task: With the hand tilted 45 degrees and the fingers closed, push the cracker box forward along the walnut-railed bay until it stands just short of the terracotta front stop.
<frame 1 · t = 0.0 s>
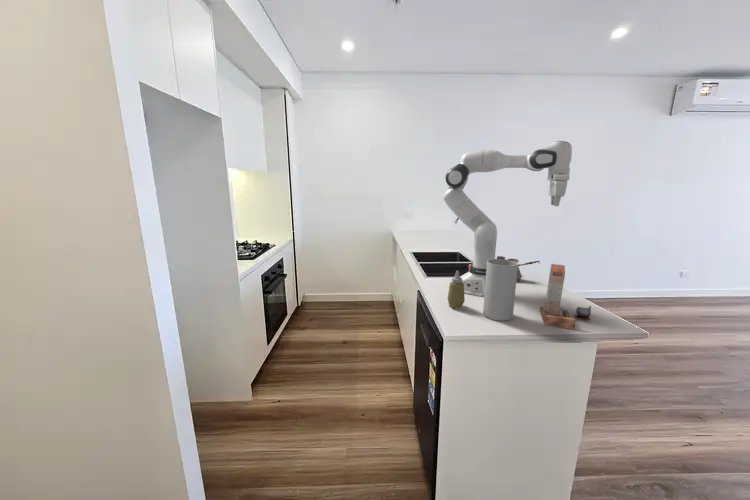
hand: (554, 205, 149), 48 cm above the counter, tool pointing down, fingers open, 8 cm apart
coffee pot: (519, 281, 186), on the counter
supplement bottle: (499, 274, 201), on the counter
squeeze bottle: (455, 306, 148), on the counter
winch drum: (582, 318, 134), on the counter
cracker box: (552, 310, 143), on the counter
cylinder vase: (497, 316, 137), on the counter
bay: (555, 319, 133), on the counter
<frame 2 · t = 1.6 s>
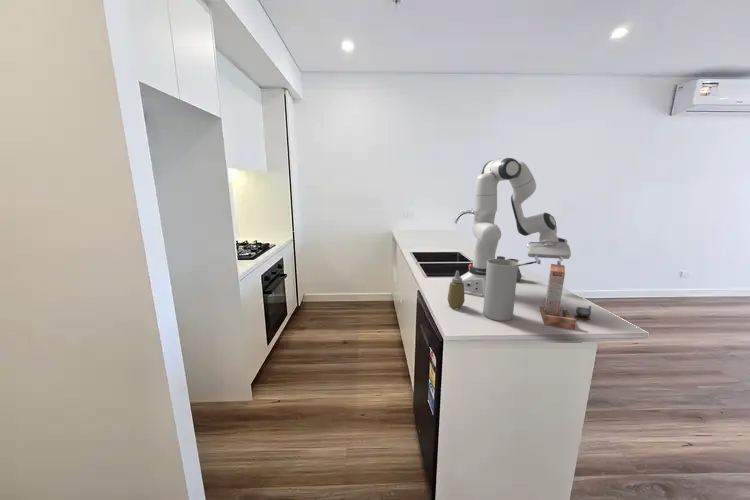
hand: (548, 263, 162), 17 cm above the counter, tool tilted 45°, fingers open, 8 cm apart
nothing on the counter moved.
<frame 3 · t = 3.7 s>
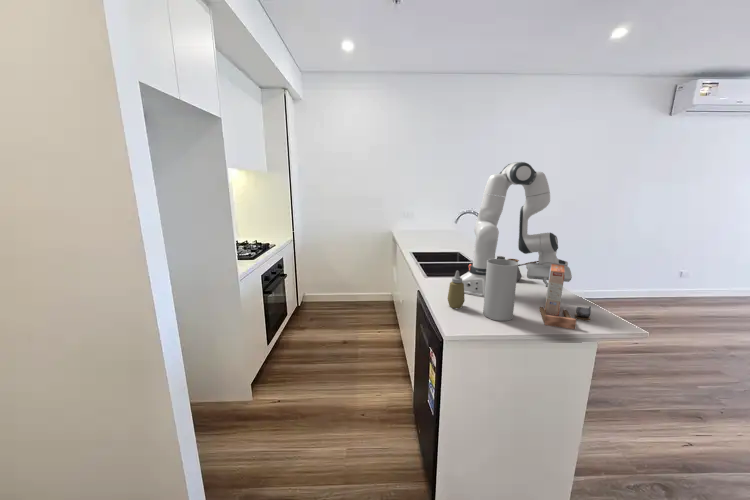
hand: (549, 286, 155), 7 cm above the counter, tool tilted 45°, fingers closed
nothing on the counter moved.
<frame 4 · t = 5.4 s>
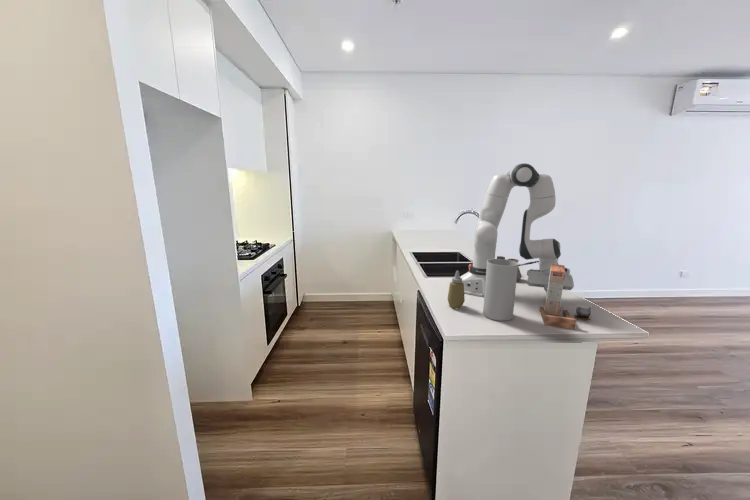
hand: (550, 295, 149), 5 cm above the counter, tool tilted 45°, fingers closed
cracker box: (552, 310, 143), on the counter, touching gripper
everything else where it was.
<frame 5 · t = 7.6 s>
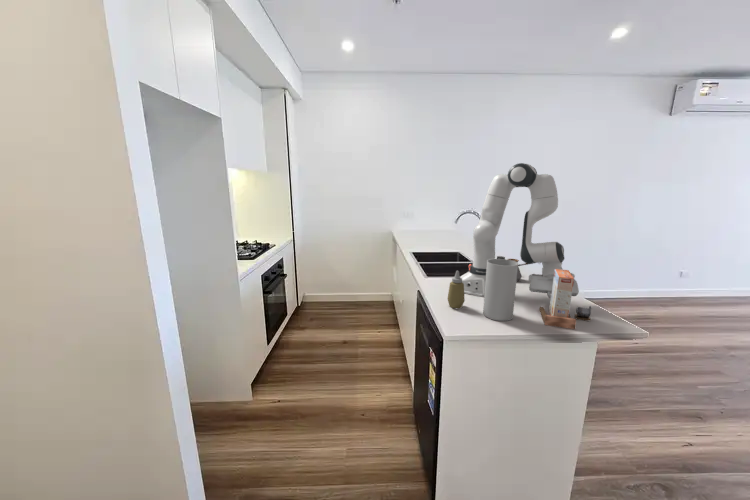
hand: (553, 301, 141), 5 cm above the counter, tool tilted 45°, fingers closed
cracker box: (557, 318, 135), resting in bay, touching gripper
everything else where it was.
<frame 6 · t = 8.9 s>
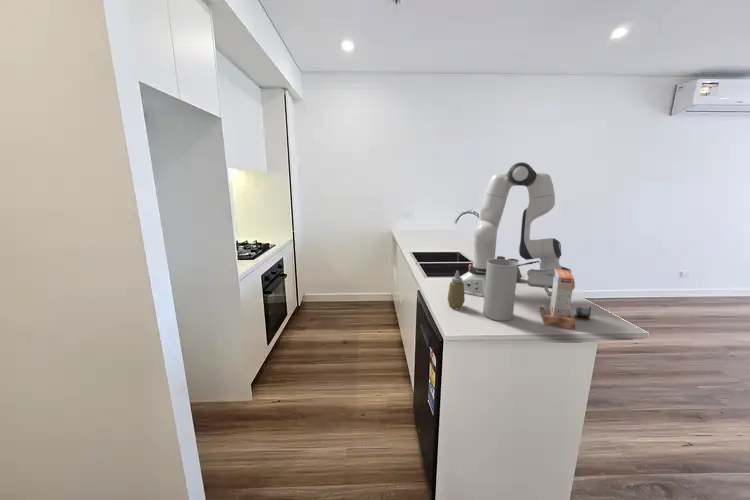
hand: (550, 295, 146), 6 cm above the counter, tool tilted 45°, fingers closed
cracker box: (557, 318, 135), resting in bay
everything else where it was.
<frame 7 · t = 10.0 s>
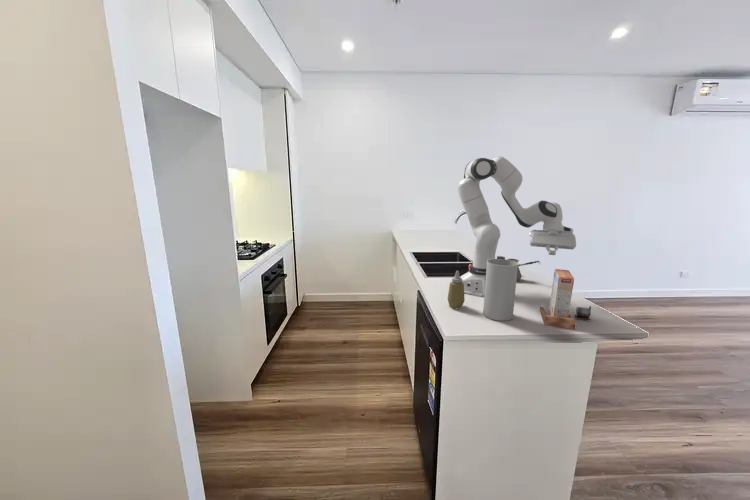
hand: (552, 254, 151), 24 cm above the counter, tool tilted 40°, fingers closed
nothing on the counter moved.
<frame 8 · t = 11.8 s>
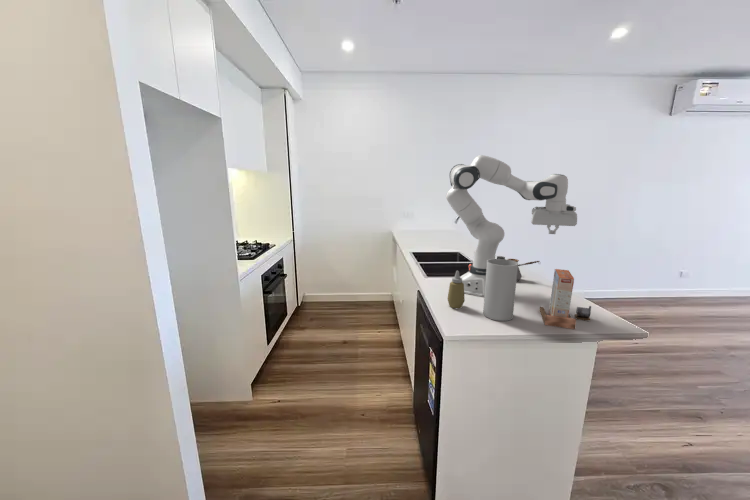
hand: (551, 233, 157), 33 cm above the counter, tool pointing down, fingers closed
nothing on the counter moved.
at the end: cracker box inside the target area (1.3 cm from its centre), resting in bay; cracker box tilted 0°; cracker box moved 9.5 cm from its start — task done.
